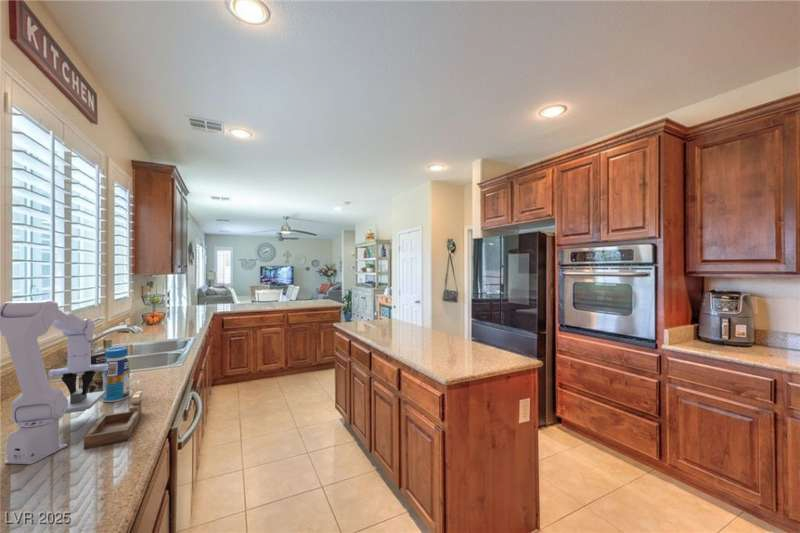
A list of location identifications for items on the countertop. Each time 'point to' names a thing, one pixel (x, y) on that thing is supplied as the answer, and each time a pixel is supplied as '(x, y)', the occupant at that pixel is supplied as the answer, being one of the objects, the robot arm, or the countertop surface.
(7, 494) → the countertop surface
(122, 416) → the brown angular frame
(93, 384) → the coffee box
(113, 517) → the countertop surface
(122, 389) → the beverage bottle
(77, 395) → the lid
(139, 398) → the block
